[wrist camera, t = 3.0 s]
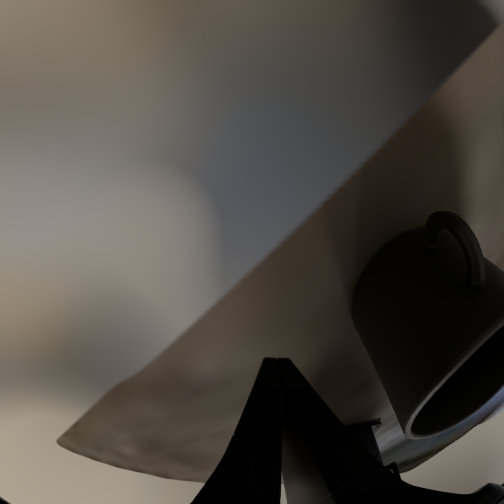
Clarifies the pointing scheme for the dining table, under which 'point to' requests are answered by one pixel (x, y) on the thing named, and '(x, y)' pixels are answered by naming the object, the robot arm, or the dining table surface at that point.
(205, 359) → the dining table surface
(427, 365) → the mug
